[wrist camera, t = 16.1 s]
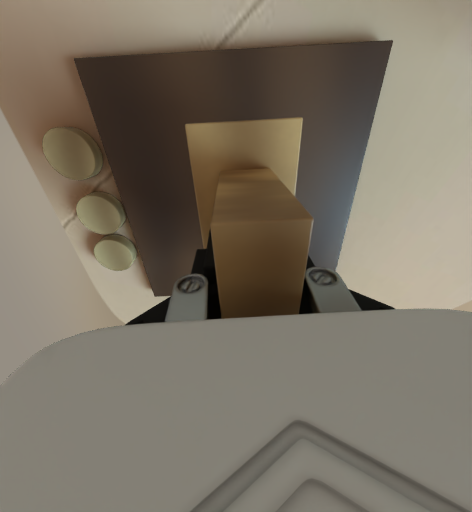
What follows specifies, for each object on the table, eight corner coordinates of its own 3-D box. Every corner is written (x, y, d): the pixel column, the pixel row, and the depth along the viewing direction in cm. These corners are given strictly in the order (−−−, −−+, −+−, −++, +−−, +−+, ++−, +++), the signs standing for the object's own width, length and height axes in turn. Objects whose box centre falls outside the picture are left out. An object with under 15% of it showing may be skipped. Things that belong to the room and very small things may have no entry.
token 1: (60, 173, 18) (50, 176, 17) (47, 122, 16) (35, 122, 15) (106, 180, 18) (98, 183, 17) (98, 132, 16) (90, 132, 15)
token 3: (109, 266, 23) (103, 273, 22) (93, 236, 21) (86, 242, 20) (142, 262, 22) (138, 268, 21) (128, 231, 21) (123, 237, 20)
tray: (157, 290, 25) (154, 296, 24) (82, 62, 14) (73, 58, 13) (328, 280, 25) (331, 286, 24) (383, 44, 14) (393, 39, 13)
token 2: (95, 231, 20) (88, 237, 19) (76, 194, 19) (67, 198, 17) (132, 226, 20) (127, 232, 19) (115, 188, 18) (109, 192, 17)
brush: (215, 286, 18) (205, 413, 10) (194, 123, 12) (123, 127, 4) (275, 282, 18) (311, 407, 10) (286, 118, 12) (405, 111, 4)
